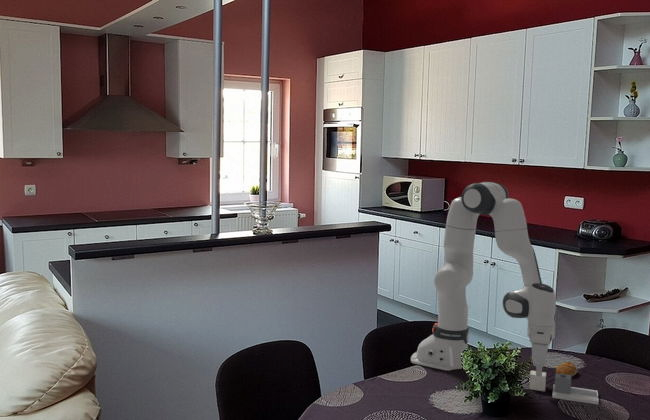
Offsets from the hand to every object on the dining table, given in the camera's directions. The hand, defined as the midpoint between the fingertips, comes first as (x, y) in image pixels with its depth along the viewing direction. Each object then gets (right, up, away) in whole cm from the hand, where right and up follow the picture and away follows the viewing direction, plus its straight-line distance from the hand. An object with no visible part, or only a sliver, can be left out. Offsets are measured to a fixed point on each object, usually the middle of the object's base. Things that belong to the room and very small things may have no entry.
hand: (539, 371), depth 212 cm
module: (0, -6, +1) cm, 6 cm away
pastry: (+15, -5, +15) cm, 22 cm away
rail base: (+10, -7, -6) cm, 13 cm away
